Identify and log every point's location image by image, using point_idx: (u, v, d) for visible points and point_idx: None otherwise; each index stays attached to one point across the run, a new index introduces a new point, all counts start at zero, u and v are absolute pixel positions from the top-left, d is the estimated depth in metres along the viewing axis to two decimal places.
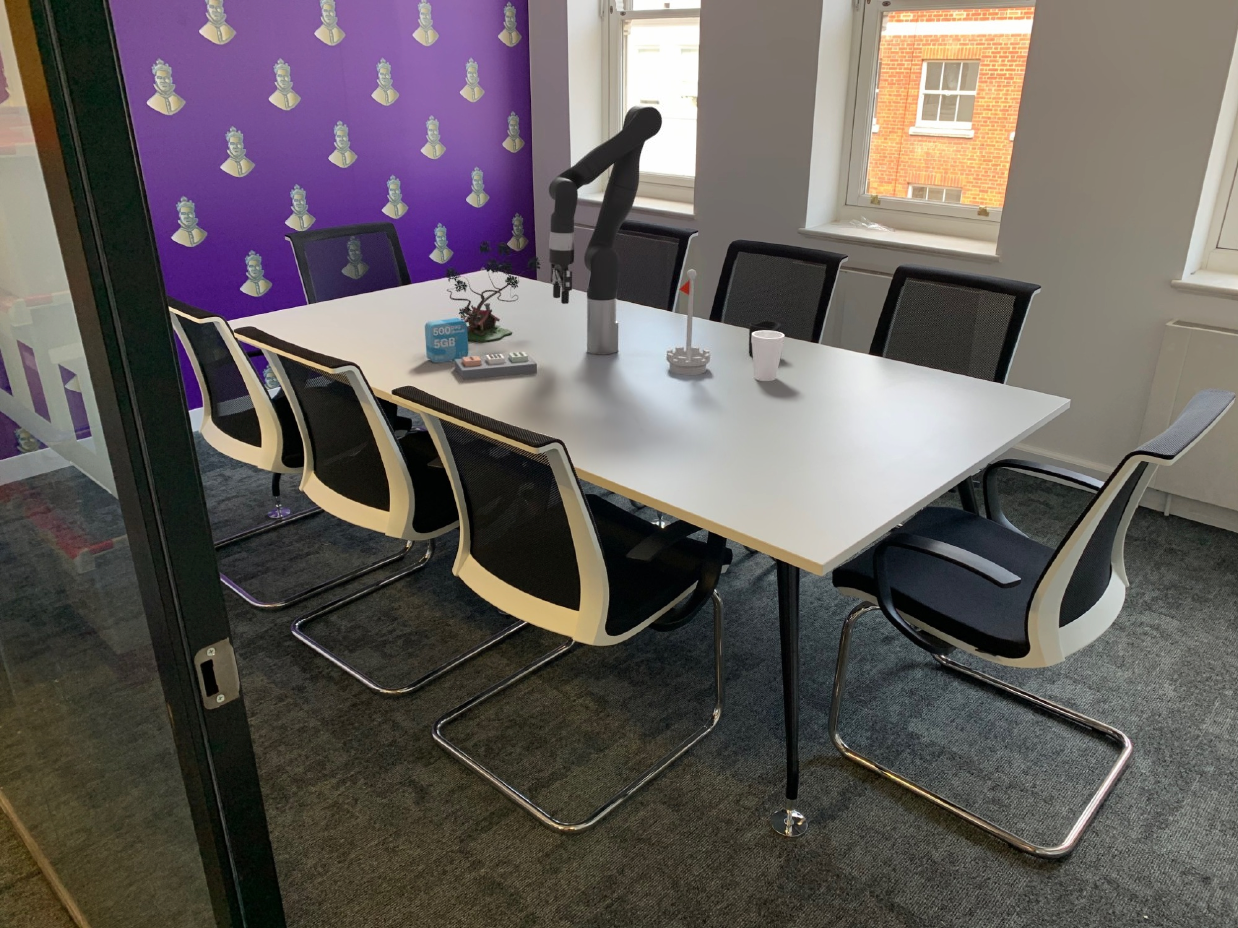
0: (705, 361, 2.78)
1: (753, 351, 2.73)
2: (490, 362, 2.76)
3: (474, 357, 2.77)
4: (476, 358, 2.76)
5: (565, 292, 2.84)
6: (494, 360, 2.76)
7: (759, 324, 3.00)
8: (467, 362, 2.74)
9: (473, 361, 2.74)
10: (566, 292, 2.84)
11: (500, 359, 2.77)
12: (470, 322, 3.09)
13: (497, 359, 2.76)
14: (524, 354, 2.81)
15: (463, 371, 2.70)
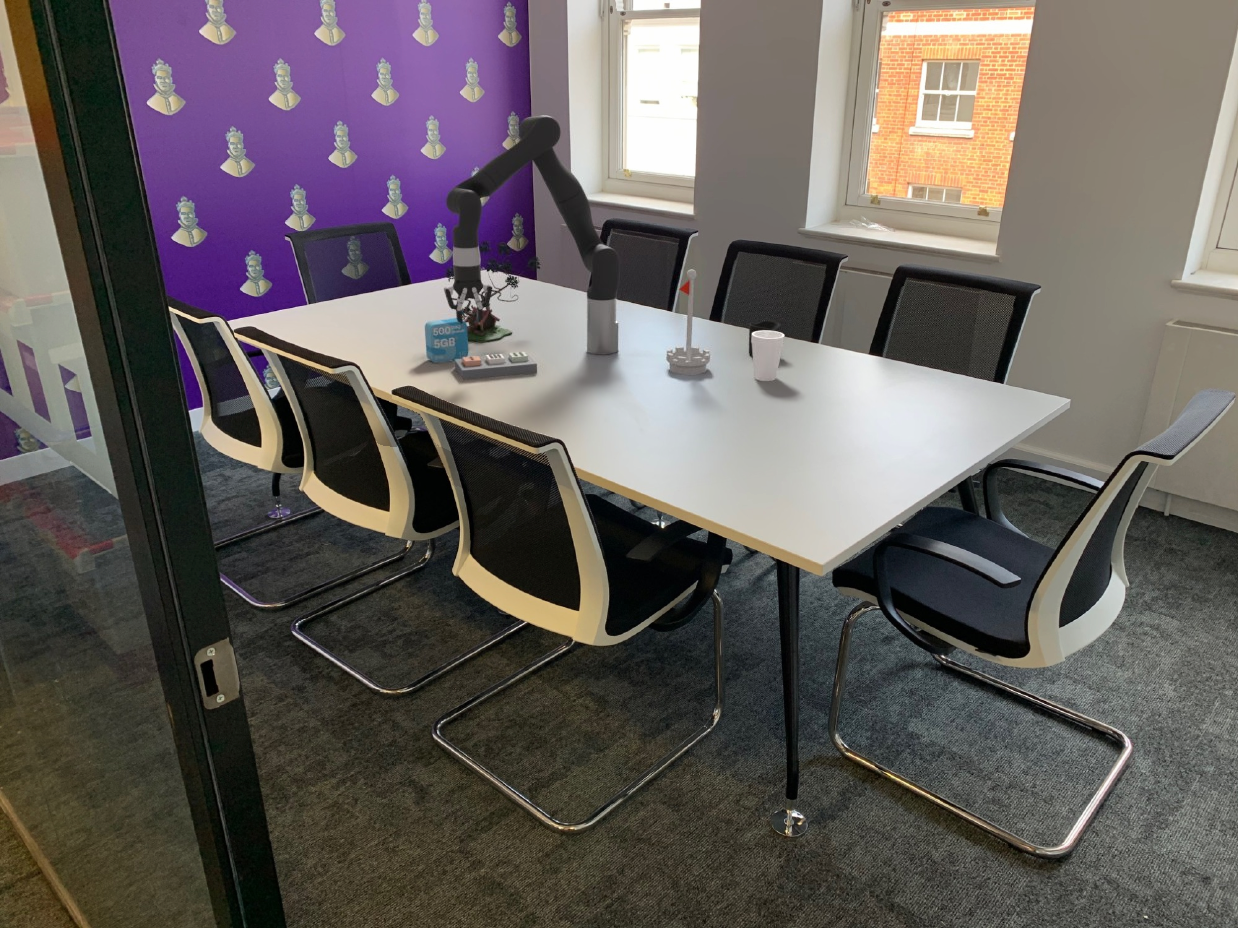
0: (705, 361, 2.78)
1: (753, 351, 2.73)
2: (490, 362, 2.76)
3: (474, 357, 2.77)
4: (476, 358, 2.76)
5: None
6: (494, 360, 2.76)
7: (759, 324, 3.00)
8: (467, 362, 2.74)
9: (473, 361, 2.74)
10: None
11: (500, 359, 2.77)
12: (470, 322, 3.09)
13: (497, 359, 2.76)
14: (524, 354, 2.81)
15: (463, 371, 2.70)
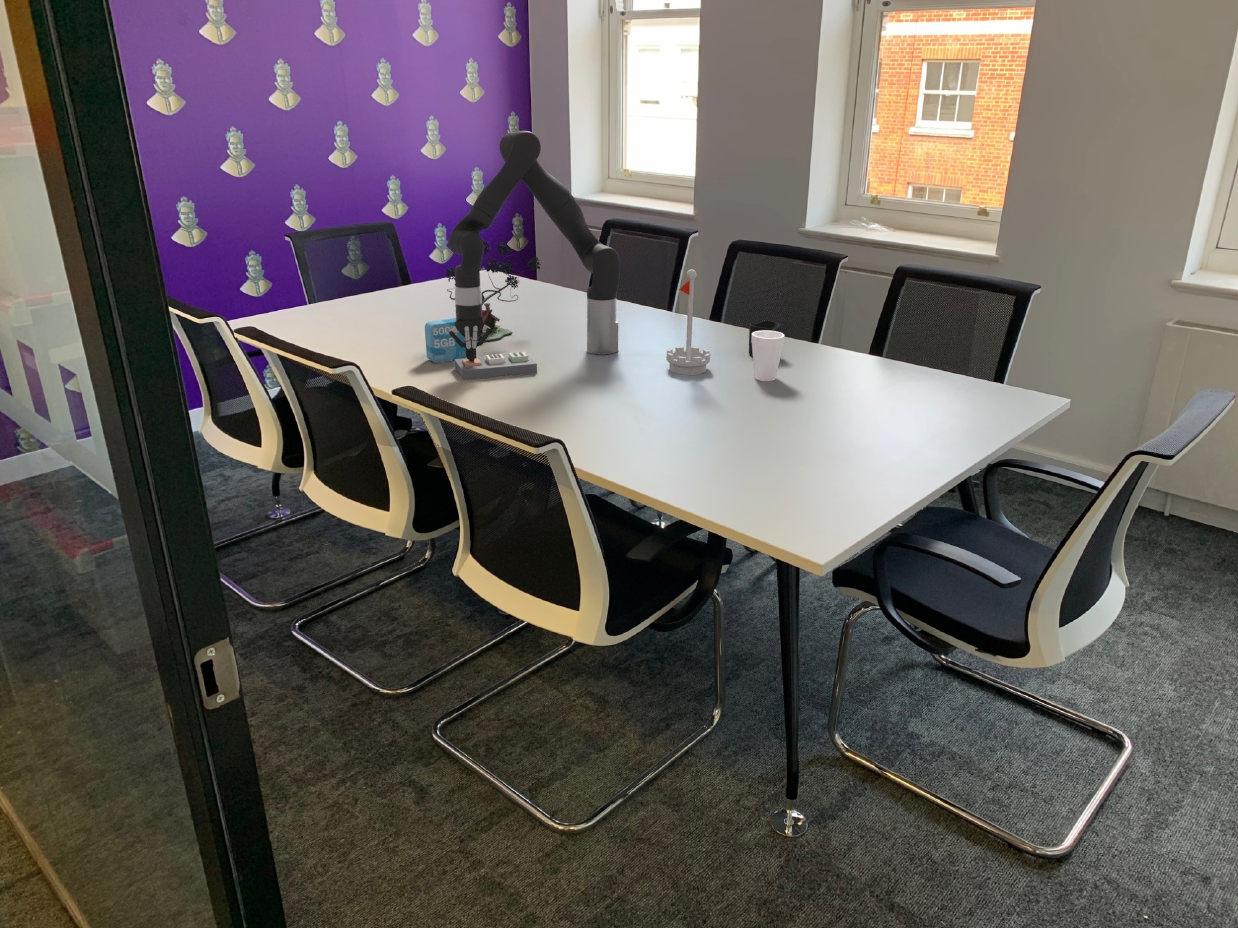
0: (705, 361, 2.78)
1: (753, 351, 2.73)
2: (490, 362, 2.76)
3: (474, 359, 2.77)
4: (476, 360, 2.77)
5: None
6: (494, 360, 2.76)
7: (759, 324, 3.00)
8: (467, 364, 2.74)
9: (473, 363, 2.74)
10: None
11: (500, 359, 2.77)
12: None
13: (497, 359, 2.76)
14: (524, 354, 2.81)
15: (463, 371, 2.70)
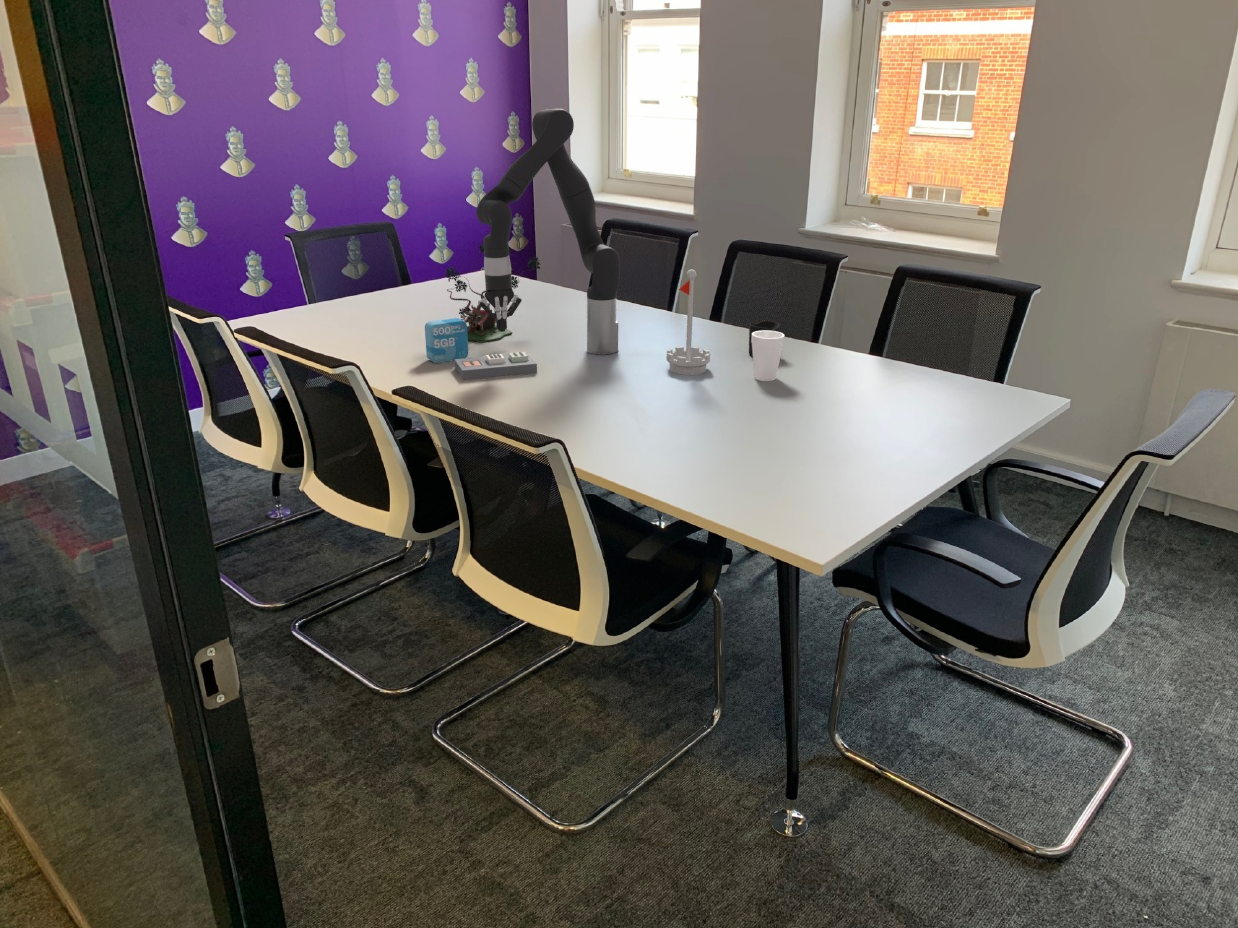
0: (705, 361, 2.78)
1: (753, 351, 2.73)
2: (490, 362, 2.76)
3: (474, 362, 2.78)
4: (476, 363, 2.77)
5: None
6: (494, 360, 2.76)
7: (759, 324, 3.00)
8: None
9: None
10: None
11: (500, 359, 2.77)
12: (470, 322, 3.09)
13: (497, 359, 2.76)
14: (524, 354, 2.81)
15: (463, 371, 2.70)
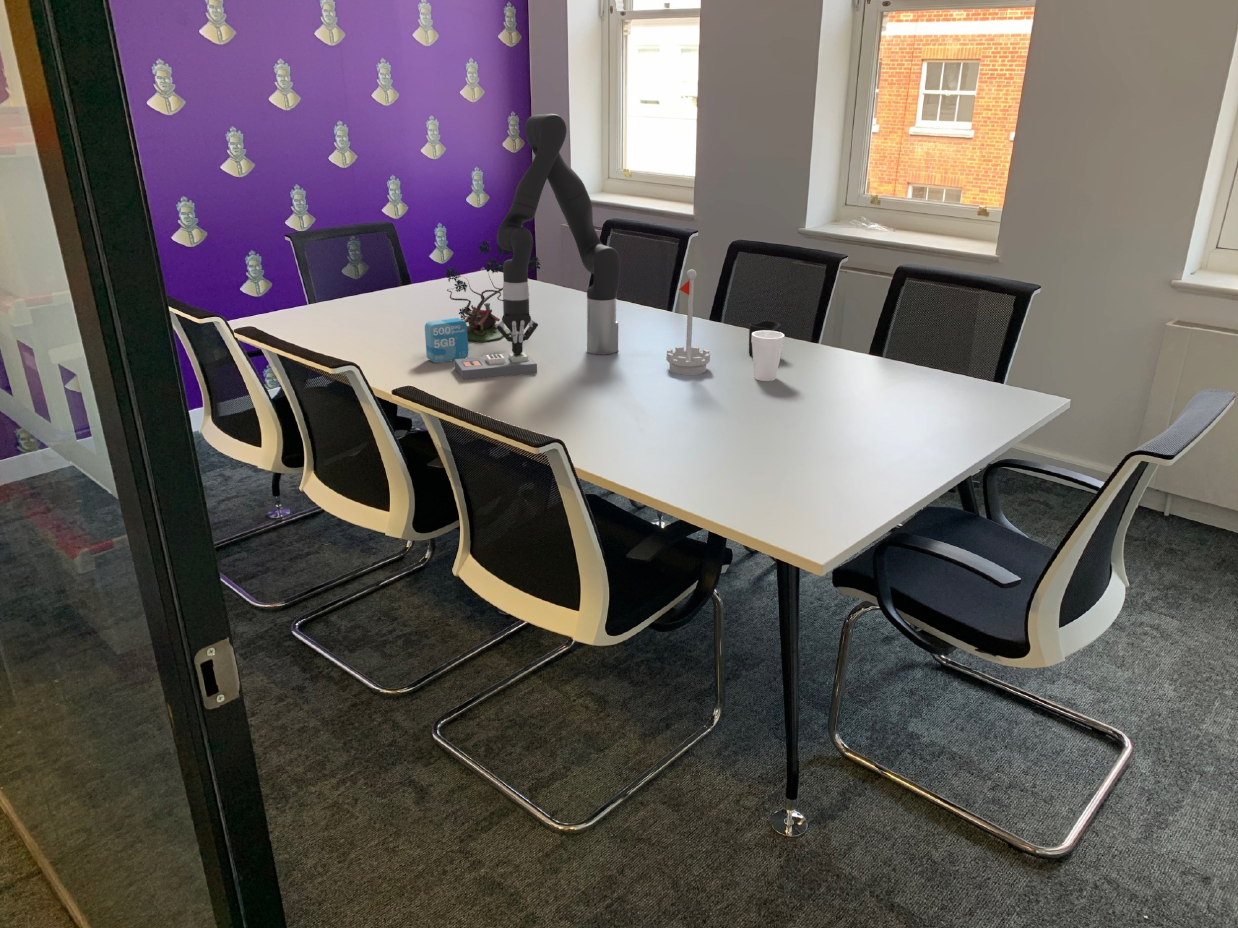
0: (705, 361, 2.78)
1: (753, 351, 2.73)
2: (490, 362, 2.76)
3: (474, 362, 2.78)
4: (476, 363, 2.77)
5: None
6: (494, 360, 2.76)
7: (759, 324, 3.00)
8: None
9: None
10: None
11: (500, 359, 2.77)
12: (470, 322, 3.09)
13: (497, 359, 2.76)
14: (524, 355, 2.81)
15: (463, 371, 2.70)
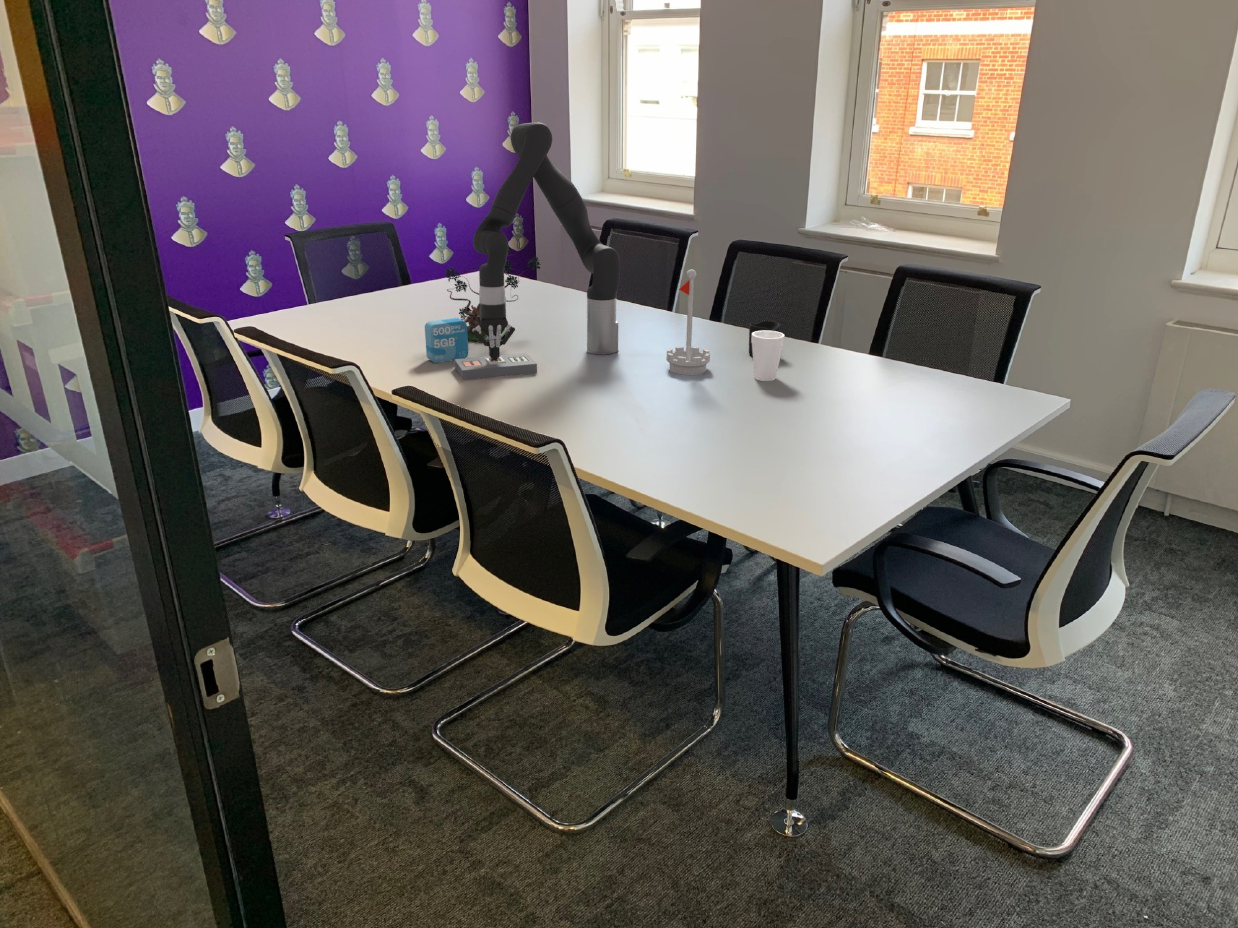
0: (705, 361, 2.78)
1: (753, 351, 2.73)
2: None
3: (474, 362, 2.78)
4: (476, 363, 2.77)
5: None
6: (494, 363, 2.77)
7: (759, 324, 3.00)
8: None
9: None
10: None
11: (500, 362, 2.77)
12: (470, 322, 3.09)
13: (497, 362, 2.77)
14: (524, 359, 2.81)
15: (463, 371, 2.70)
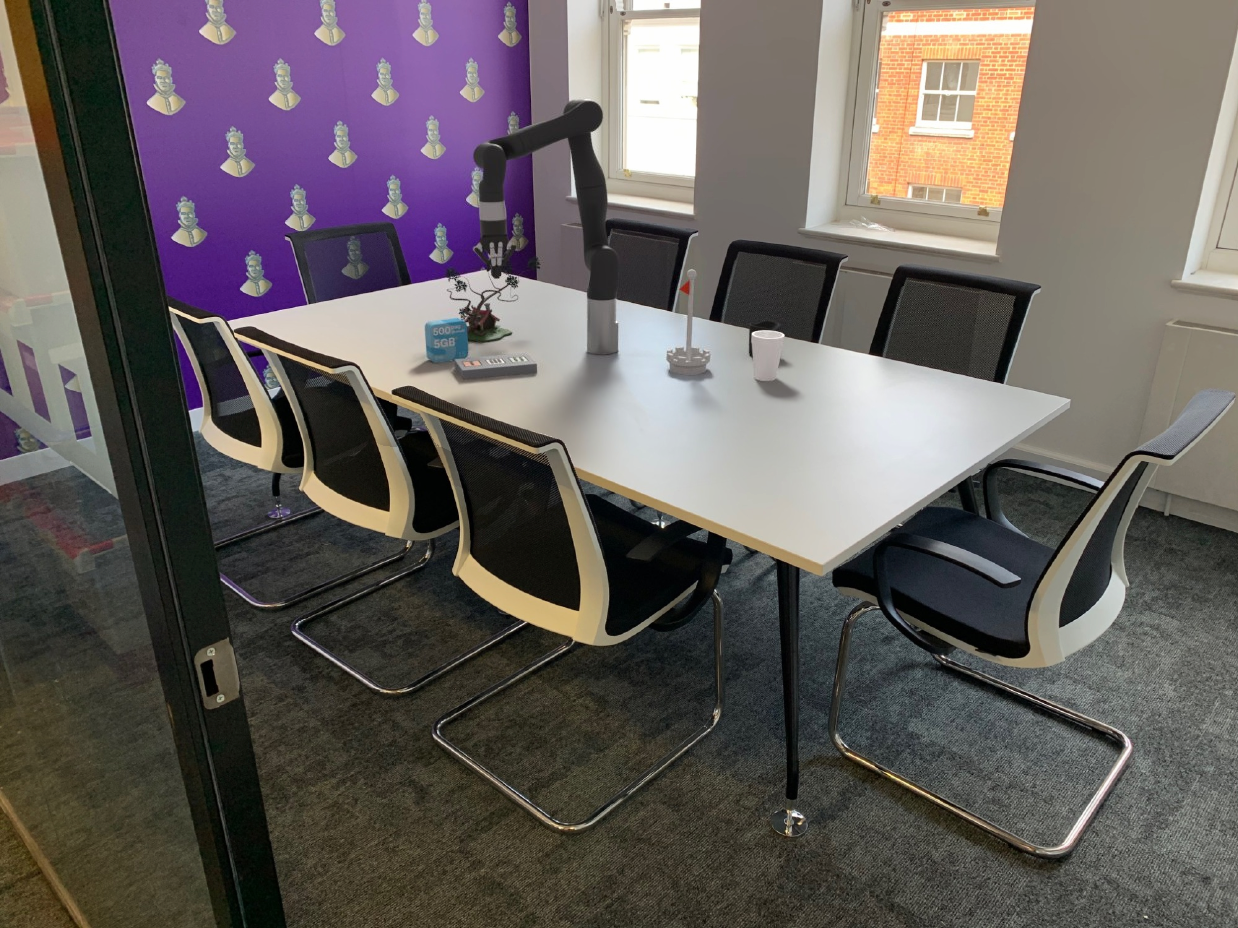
0: (705, 361, 2.78)
1: (753, 351, 2.73)
2: None
3: (474, 362, 2.78)
4: (476, 363, 2.77)
5: None
6: None
7: (759, 324, 3.00)
8: None
9: None
10: None
11: None
12: (470, 322, 3.09)
13: None
14: (524, 359, 2.81)
15: (463, 371, 2.70)
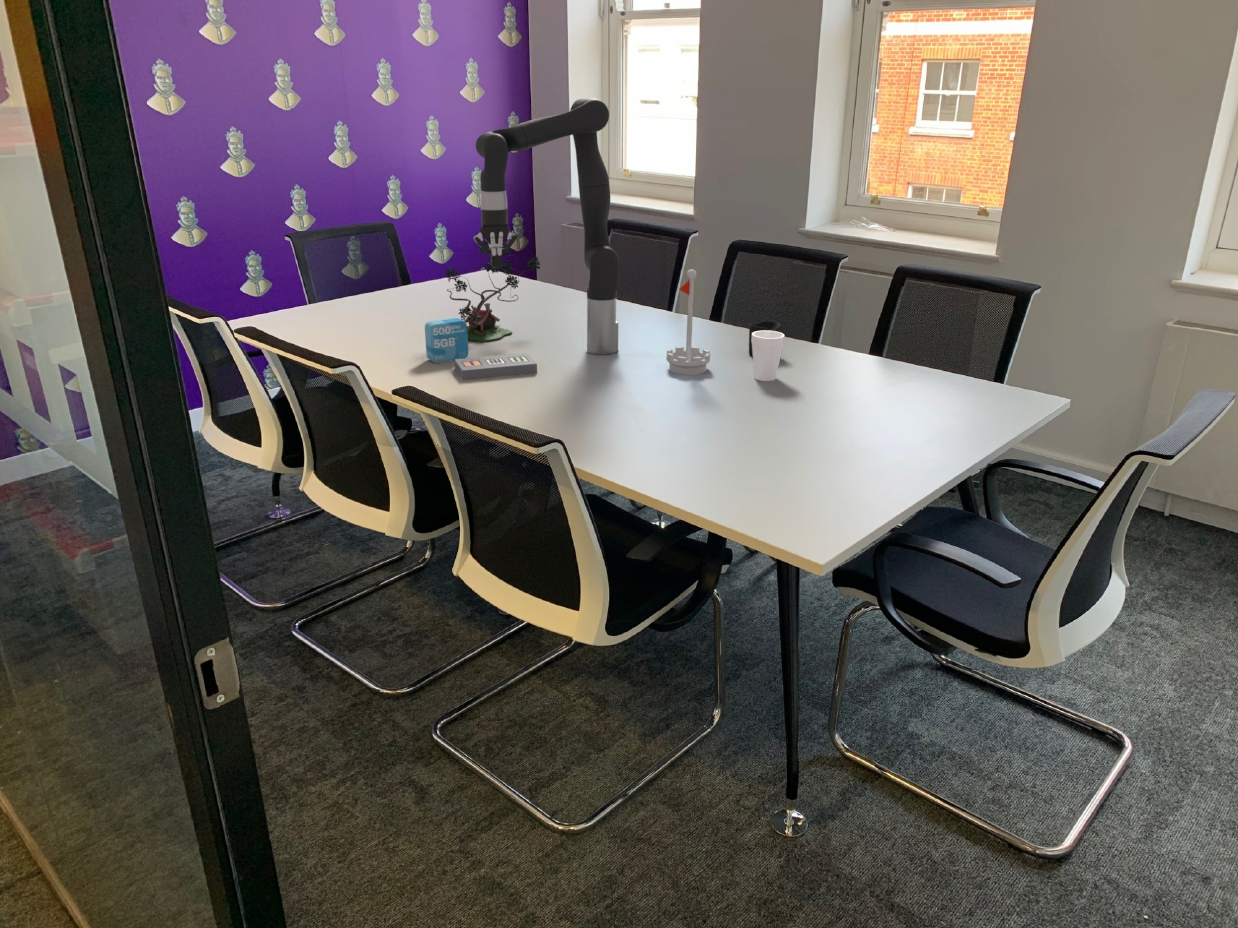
0: (705, 361, 2.78)
1: (753, 351, 2.73)
2: None
3: (474, 362, 2.78)
4: (476, 363, 2.77)
5: None
6: None
7: (759, 324, 3.00)
8: None
9: None
10: None
11: None
12: (470, 322, 3.09)
13: None
14: (524, 359, 2.81)
15: (463, 371, 2.70)
